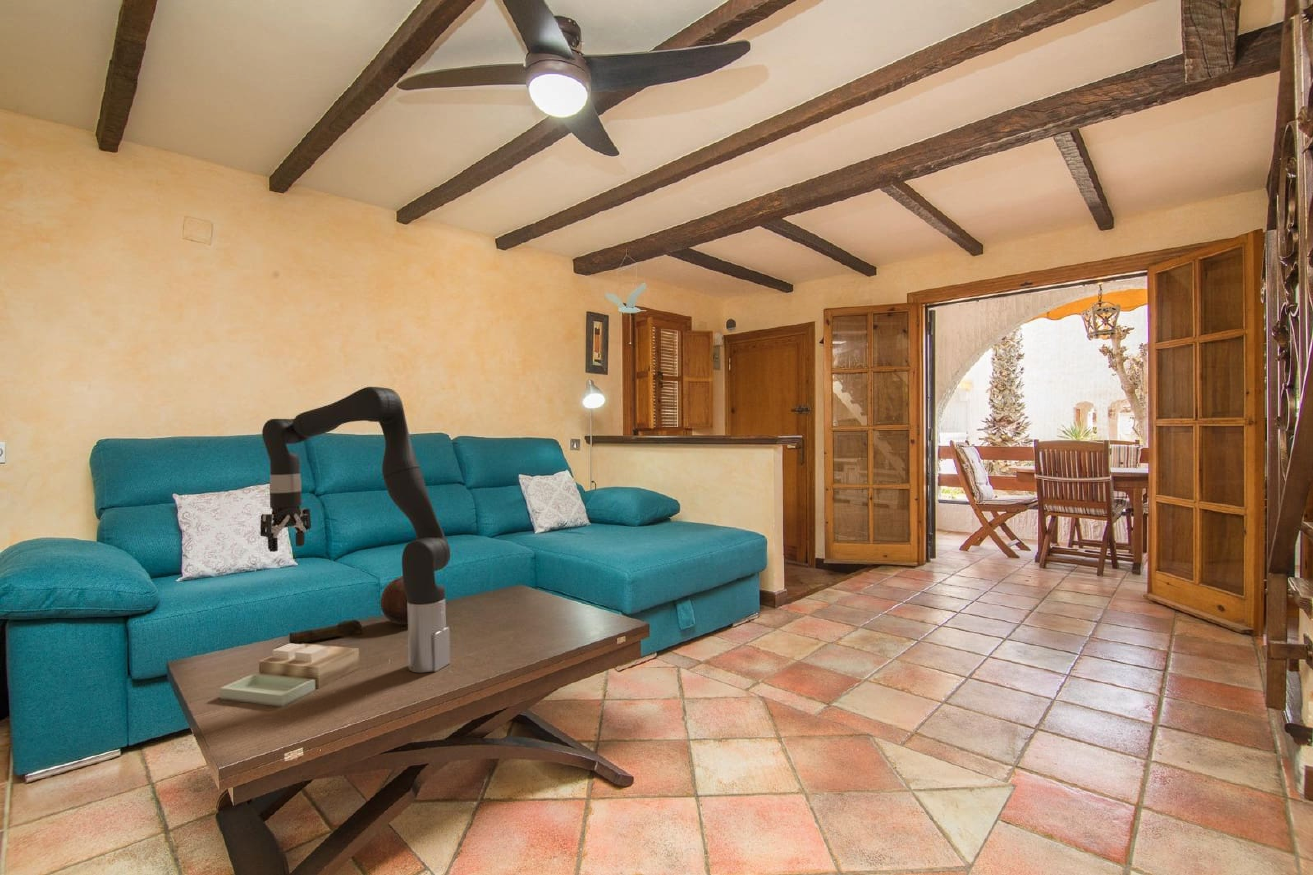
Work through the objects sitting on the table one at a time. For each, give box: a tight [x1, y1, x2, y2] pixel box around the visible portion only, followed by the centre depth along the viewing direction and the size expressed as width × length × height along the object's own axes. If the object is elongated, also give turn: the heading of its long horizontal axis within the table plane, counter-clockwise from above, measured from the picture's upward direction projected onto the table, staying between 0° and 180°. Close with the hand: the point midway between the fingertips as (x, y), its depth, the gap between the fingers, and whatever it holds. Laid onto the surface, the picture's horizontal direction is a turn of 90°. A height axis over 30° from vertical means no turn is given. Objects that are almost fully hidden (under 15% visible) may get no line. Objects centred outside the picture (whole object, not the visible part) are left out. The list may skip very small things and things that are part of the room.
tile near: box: [295, 645, 328, 662], centre depth 151 cm, size 5×5×2 cm
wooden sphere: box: [380, 576, 408, 625], centre depth 194 cm, size 15×15×15 cm
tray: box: [219, 672, 316, 708], centre depth 141 cm, size 18×9×2 cm, turn 74°
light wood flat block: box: [258, 643, 360, 689], centre depth 153 cm, size 18×13×5 cm
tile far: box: [272, 642, 305, 660], centre depth 153 cm, size 5×5×2 cm
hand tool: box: [288, 619, 363, 644], centre depth 180 cm, size 19×4×5 cm, turn 121°
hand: (287, 548), depth 169 cm, fingers open, 8 cm apart
